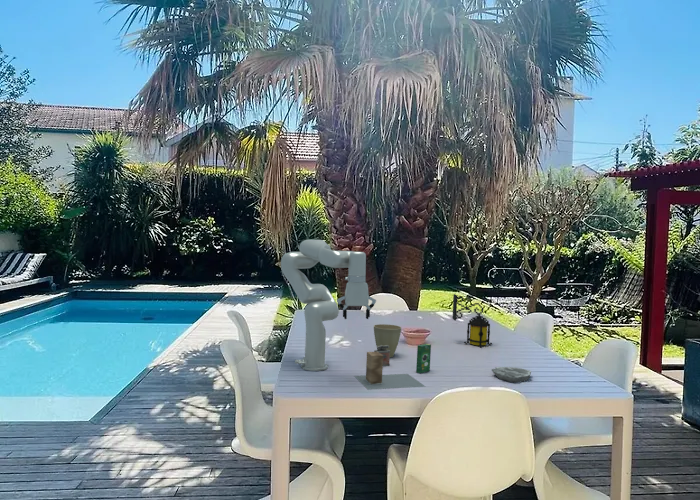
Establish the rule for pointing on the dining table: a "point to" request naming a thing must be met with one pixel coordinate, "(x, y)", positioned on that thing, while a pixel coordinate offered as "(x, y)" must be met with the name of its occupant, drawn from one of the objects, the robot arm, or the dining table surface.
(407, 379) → the slate mat
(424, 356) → the coffee box
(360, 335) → the dining table surface
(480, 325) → the wall lantern
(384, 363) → the lighter
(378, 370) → the tan rectangular block
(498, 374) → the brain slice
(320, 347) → the robot arm
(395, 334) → the plant pot
